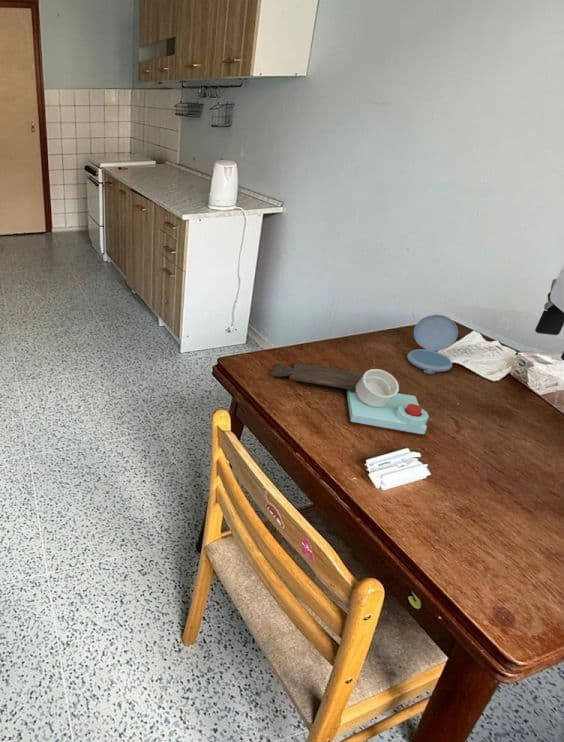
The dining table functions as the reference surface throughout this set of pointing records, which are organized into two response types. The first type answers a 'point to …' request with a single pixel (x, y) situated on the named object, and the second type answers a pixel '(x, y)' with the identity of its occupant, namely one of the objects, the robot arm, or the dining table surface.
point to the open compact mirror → (433, 343)
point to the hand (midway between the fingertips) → (559, 346)
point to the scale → (387, 413)
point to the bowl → (377, 388)
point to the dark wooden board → (319, 375)
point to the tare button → (413, 410)
